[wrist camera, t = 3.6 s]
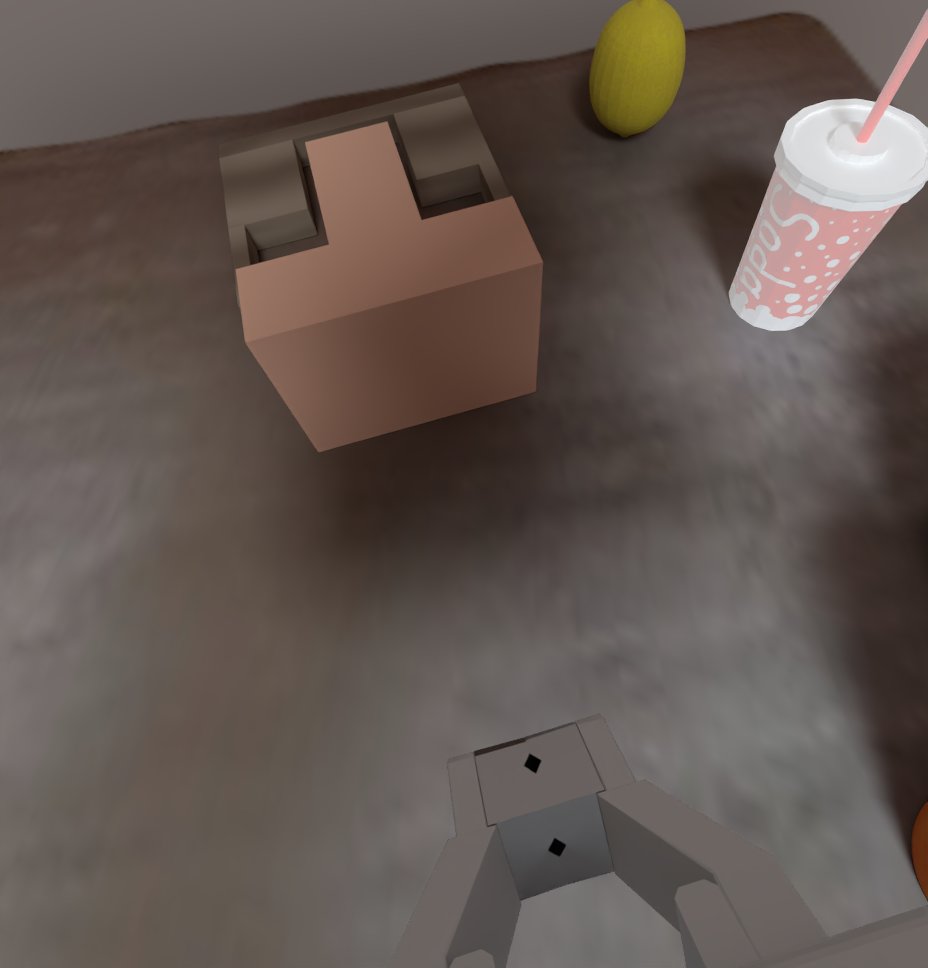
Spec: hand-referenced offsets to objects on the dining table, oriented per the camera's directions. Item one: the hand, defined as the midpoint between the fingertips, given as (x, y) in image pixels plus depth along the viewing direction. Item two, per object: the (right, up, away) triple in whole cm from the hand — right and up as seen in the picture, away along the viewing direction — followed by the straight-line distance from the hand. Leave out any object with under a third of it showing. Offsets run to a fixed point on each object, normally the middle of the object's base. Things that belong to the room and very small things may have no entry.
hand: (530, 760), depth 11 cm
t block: (-5, +13, +22) cm, 26 cm away
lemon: (+10, +29, +28) cm, 41 cm away
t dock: (-7, +22, +26) cm, 35 cm away
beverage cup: (+16, +16, +21) cm, 31 cm away
